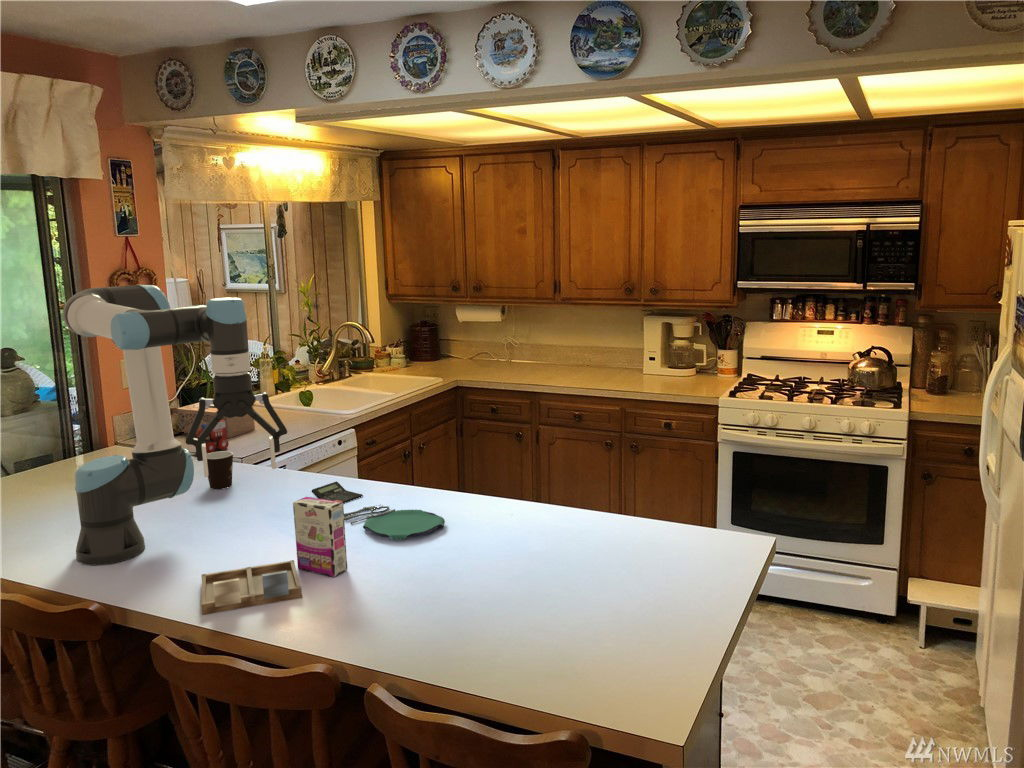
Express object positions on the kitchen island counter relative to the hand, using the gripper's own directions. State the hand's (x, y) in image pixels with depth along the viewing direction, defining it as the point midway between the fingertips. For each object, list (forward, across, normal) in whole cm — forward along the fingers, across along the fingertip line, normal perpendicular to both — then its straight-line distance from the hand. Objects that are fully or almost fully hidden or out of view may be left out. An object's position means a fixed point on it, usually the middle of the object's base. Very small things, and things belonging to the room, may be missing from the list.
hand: (240, 471), depth 170 cm
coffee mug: (+27, -4, +82) cm, 86 cm away
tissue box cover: (+27, -5, +158) cm, 160 cm away
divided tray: (+27, 0, -1) cm, 27 cm away
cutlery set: (+27, +37, +27) cm, 54 cm away
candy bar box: (+27, +16, +4) cm, 32 cm away
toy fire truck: (+27, -7, +128) cm, 131 cm away
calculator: (+27, +27, +55) cm, 67 cm away
